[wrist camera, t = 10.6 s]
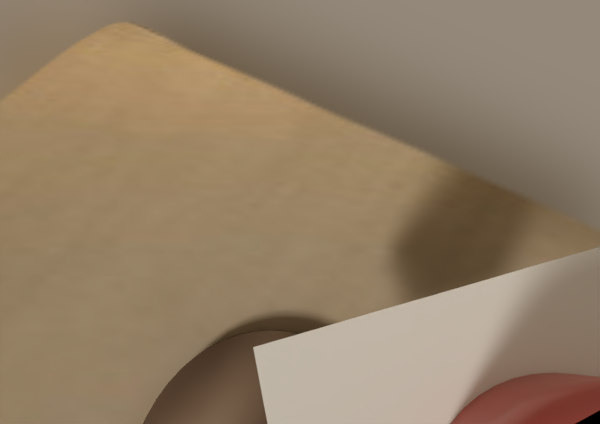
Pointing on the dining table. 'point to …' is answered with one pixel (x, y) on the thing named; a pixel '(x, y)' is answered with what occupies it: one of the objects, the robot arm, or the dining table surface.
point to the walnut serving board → (217, 385)
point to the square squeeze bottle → (451, 356)
